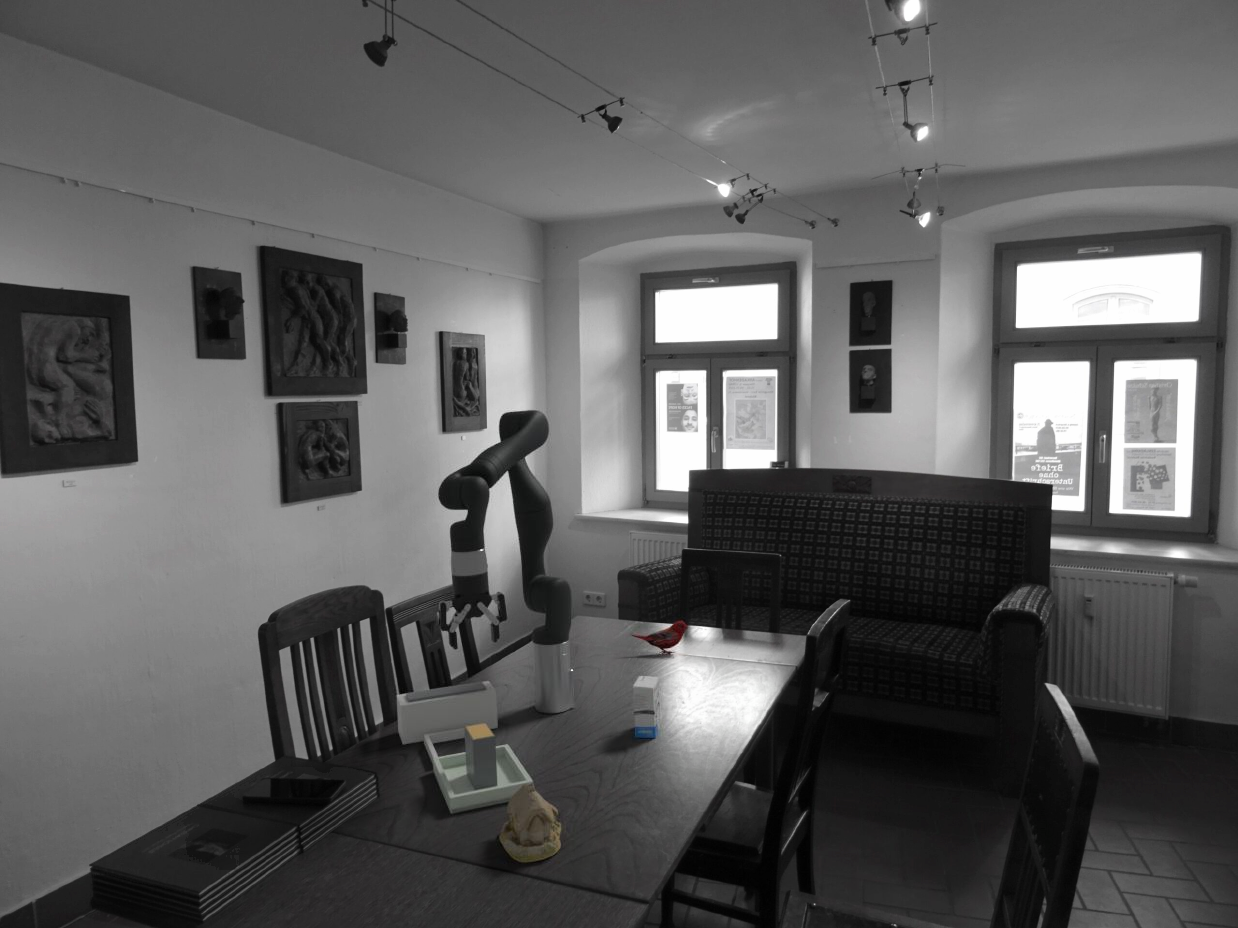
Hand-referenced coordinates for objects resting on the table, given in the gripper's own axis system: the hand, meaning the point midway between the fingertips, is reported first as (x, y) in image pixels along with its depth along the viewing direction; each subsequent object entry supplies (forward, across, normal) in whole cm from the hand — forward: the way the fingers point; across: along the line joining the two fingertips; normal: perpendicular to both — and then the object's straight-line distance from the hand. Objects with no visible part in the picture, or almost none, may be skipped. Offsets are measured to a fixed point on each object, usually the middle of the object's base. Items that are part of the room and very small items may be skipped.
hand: (474, 644), depth 176 cm
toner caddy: (+24, +3, +12) cm, 27 cm away
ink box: (+27, -38, +3) cm, 47 cm away
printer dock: (+25, +3, -12) cm, 28 cm away
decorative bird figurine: (+28, -67, -51) cm, 89 cm away
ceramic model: (+25, 0, +38) cm, 45 cm away
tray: (+25, +3, +12) cm, 28 cm away
